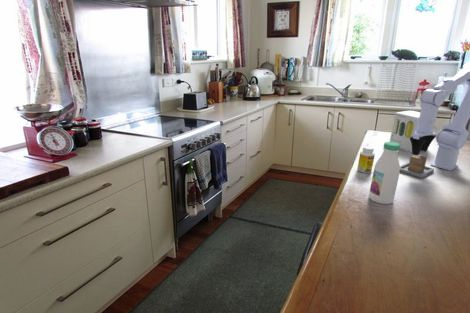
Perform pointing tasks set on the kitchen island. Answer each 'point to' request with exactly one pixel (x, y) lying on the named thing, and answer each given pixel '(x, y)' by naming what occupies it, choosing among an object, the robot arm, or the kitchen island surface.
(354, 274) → the kitchen island surface
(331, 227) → the kitchen island surface
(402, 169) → the grey tray
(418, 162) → the walnut block
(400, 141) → the supplement box
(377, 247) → the kitchen island surface
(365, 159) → the supplement bottle
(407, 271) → the kitchen island surface
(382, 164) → the milk bottle
